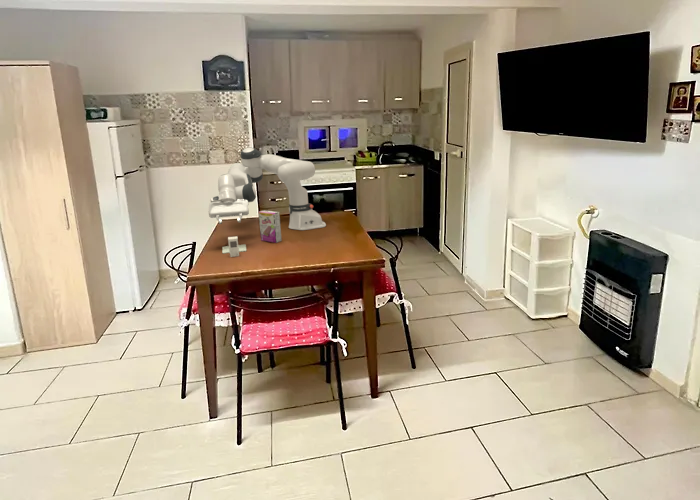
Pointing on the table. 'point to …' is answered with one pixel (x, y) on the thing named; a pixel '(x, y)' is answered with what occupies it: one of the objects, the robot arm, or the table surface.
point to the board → (226, 250)
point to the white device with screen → (233, 246)
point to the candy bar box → (270, 226)
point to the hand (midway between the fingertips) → (229, 222)
